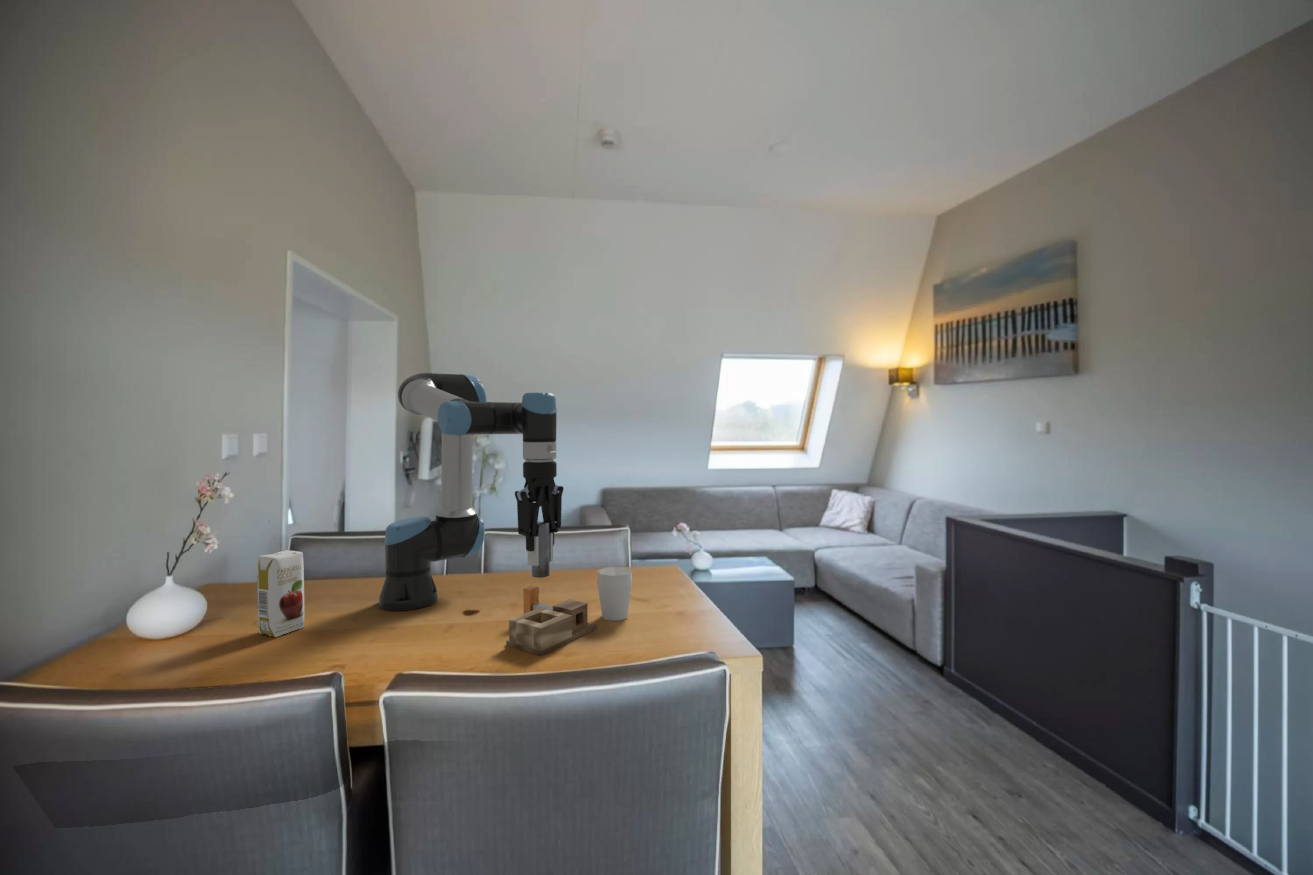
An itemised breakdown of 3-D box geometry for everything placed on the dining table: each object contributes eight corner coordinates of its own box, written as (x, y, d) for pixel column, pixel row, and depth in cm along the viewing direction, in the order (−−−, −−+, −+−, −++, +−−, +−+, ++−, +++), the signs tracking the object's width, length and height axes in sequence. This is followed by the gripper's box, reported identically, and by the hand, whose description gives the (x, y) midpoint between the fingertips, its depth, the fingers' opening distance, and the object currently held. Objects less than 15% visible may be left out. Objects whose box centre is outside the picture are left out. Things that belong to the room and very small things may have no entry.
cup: (627, 623, 143) (627, 576, 143) (593, 621, 145) (592, 574, 145) (635, 612, 152) (635, 567, 152) (603, 609, 154) (603, 565, 153)
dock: (506, 644, 130) (505, 616, 129) (562, 620, 146) (562, 595, 145) (541, 655, 124) (541, 626, 123) (596, 628, 140) (596, 602, 139)
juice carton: (253, 635, 136) (251, 556, 135) (288, 623, 144) (286, 548, 143) (275, 639, 133) (273, 559, 132) (309, 627, 141) (308, 551, 140)
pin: (523, 619, 145) (523, 588, 145) (532, 616, 147) (532, 585, 147) (566, 631, 137) (566, 597, 137) (574, 627, 140) (574, 594, 139)
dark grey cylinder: (528, 575, 129) (527, 523, 129) (540, 572, 133) (540, 520, 132) (541, 578, 127) (540, 525, 127) (553, 574, 131) (553, 522, 130)
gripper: (524, 463, 120) (524, 573, 121) (577, 459, 134) (577, 557, 135) (499, 462, 124) (500, 568, 125) (553, 458, 139) (554, 553, 139)
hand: (540, 562), depth 130 cm, fingers closed on dark grey cylinder, 4 cm apart
